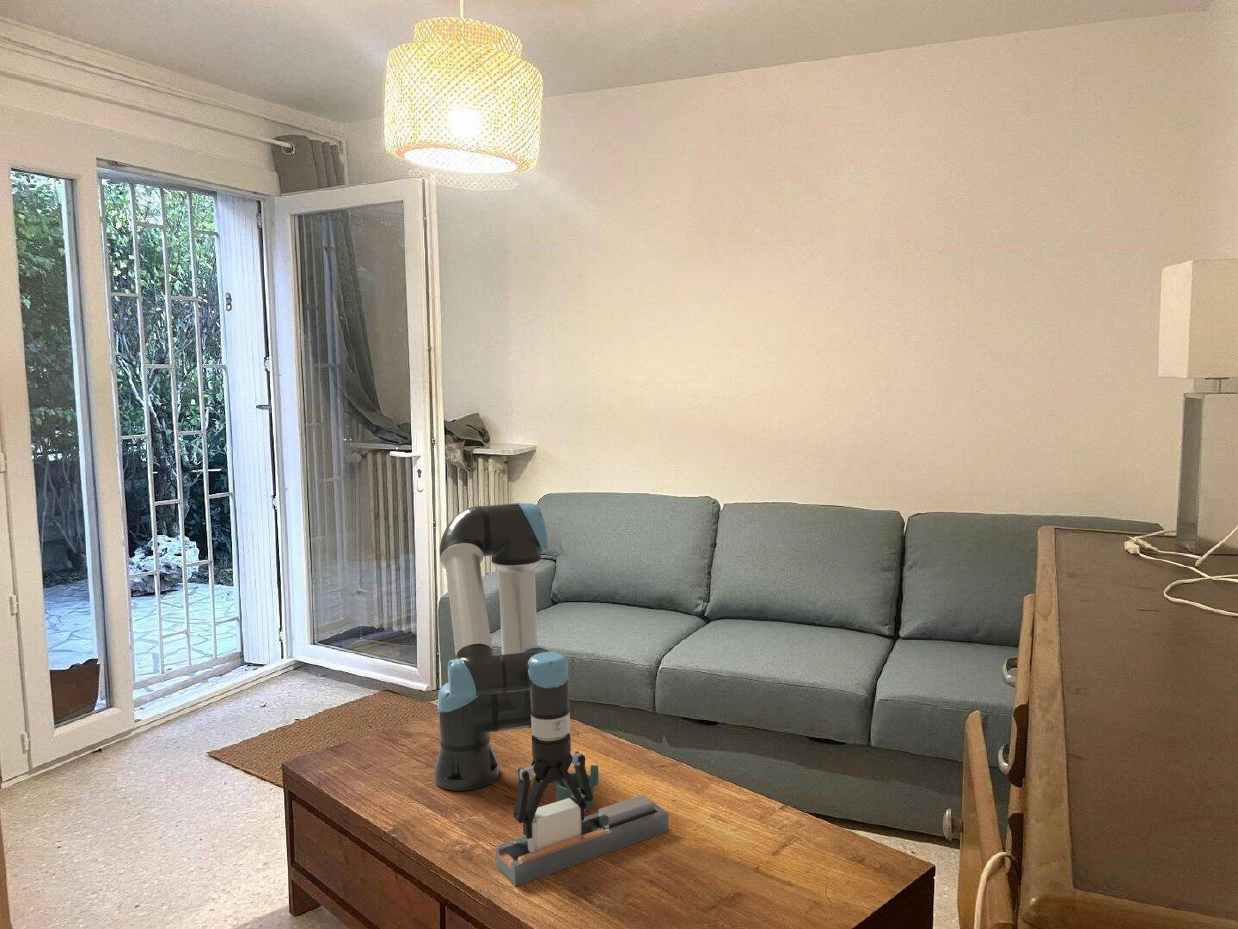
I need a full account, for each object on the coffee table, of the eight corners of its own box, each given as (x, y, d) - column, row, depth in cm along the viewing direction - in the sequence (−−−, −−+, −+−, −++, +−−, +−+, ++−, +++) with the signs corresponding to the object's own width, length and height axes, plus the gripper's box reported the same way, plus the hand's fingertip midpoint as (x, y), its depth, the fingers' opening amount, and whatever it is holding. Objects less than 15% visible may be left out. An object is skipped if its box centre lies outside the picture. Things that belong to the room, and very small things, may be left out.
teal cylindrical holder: (602, 805, 198) (601, 766, 197) (565, 816, 193) (563, 776, 192) (583, 790, 206) (581, 752, 205) (546, 800, 201) (545, 761, 200)
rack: (496, 866, 175) (495, 836, 174) (645, 814, 193) (645, 788, 192) (515, 886, 167) (514, 856, 167) (668, 831, 186) (668, 803, 185)
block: (530, 849, 176) (528, 810, 175) (570, 836, 180) (568, 798, 180) (539, 858, 172) (537, 819, 171) (580, 844, 177) (578, 805, 176)
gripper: (508, 754, 165) (513, 871, 167) (608, 727, 177) (612, 836, 179) (491, 741, 171) (496, 853, 174) (589, 715, 183) (593, 821, 185)
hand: (555, 844), depth 176 cm, fingers closed on block, 9 cm apart
